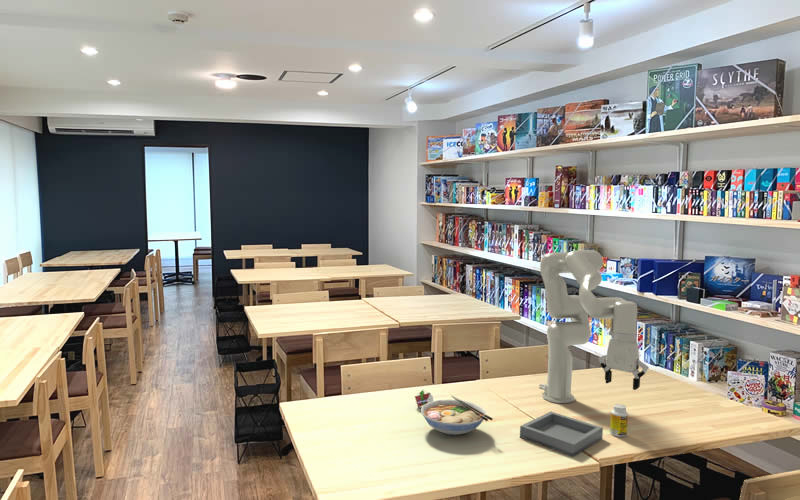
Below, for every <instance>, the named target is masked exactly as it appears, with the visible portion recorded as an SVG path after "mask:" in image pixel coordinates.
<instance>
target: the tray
mask: <svg viewBox="0 0 800 500" xmlns="http://www.w3.org/2000/svg"><path fill="white" fill-rule="evenodd" d="M603 430H604V428H603V427H602V426H598V425H596V424H592V423H589V422H586V421H583V420H580V419H577V418H573V417H569V416H566V415H564V414H561V413H556V412H554V411H549V412H547V413H545V414H543V415H541V416H539V417H536V418H534V419H532V420H530V421H528V422H526V423H524V424H522V425H520V428H519V438H521V439H523V440H525V441H526V440H527V441H529V442H532V443H534V444H537V445H540V446H543V447H545V448H549V449H552V450H554V451H557V452H560V453H562V454H565V455H568V456H570V457H575V456H577V455H579V454H580V453H582V452H583V451H585V450H587V449H588V448H589V447H592V446H593V445H595V444H596V443H598V442H600V441H602V440H603V435H604V434H603V432H604V431H603Z"/></svg>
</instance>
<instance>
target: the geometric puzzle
mask: <svg viewBox="0 0 800 500" xmlns="http://www.w3.org/2000/svg"><path fill="white" fill-rule="evenodd" d="M414 399H415V403H416V405H417V408H419V407H420V408H422V406H423V405H425V404H427V403H428V402H432V401H434V397H433V395H432V393H431V392H426V390H424V389H422V390H421V391H419V392H418V393H417V394H416V395H415V396H414Z"/></svg>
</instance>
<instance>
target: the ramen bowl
mask: <svg viewBox="0 0 800 500" xmlns="http://www.w3.org/2000/svg"><path fill="white" fill-rule="evenodd" d="M451 397H452V398H453V399H451V398H450V399H437V400H433V401H432V402H428V403H427V404H425V405H423V406H422V407H420V408H421V409H420V412H421V414H422V416H423V418H424V419H425V421H426V422H427V424H428V425H429V427H431V428H433V429H434V430H436V431H438V432H440V433H443V434H445V435H449V436H459V435H462V434H463V435H465V434H468V433H471V432H472V431H475V430H476V429H477V428H478V427H479V426H480V425H481V424H482V422H483V421H486V422H488V421H493V417H491V416H489V415H487V411H486V409H484V407H482V406H480V405H478V404H476V403H473V402H470V401H468V400H467V401H466V400H461V399H459V398H457V397H456V396H453V395H451Z"/></svg>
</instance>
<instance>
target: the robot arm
mask: <svg viewBox="0 0 800 500" xmlns="http://www.w3.org/2000/svg"><path fill="white" fill-rule="evenodd" d="M603 259H604V258H603V256H602V255H601V253H600V252H598V251H597V250H594V249H578V250H577V249H576V250H571V251H570V252H569V251H566V252H565V251H563V252H562V251H560V252H559V251H558V252H557V251H556V252H551V253H547V254H544V256H543V257H542V259H541V260H540V266H539V267H540V269H539V270H540V275H541V278H542V282H543V284H544V288H545V298H546V305H547V312H548V315H549V317H550V318H552V319H556V320H558V319H559V320H561V319H571V321H559V322H558V321H557V322H554V323H551V324H549V326H548V327H547V329H546V338H547V339H546V340H547V345H548V349H547V350H548V355H547V356H548V357H547V358H548V359H547V360H548V362H547V381H546V382H547V383H546V384H545V383H543V382H541V383H539V387H538V388H539V389H540V390H543V391H544V392H542V397H543V399H544V400H546V401H549V402H551V403H557V404H570V403H573V402H575V399H576V397H575V395H574V394H572V377H573V355H572V352H571V351H570V349H569V347H570V346H579V345H585V344H587V343H588V342H589V341H590V339H591V328H590V321H589V317H590V318H592V319H594V320H608V319H609V320H610V319H612V320H613V322H612V331H611V330H609V332H608V335H609V336H611V338H610V339H609V342H608V346H607V350H606V354H605V355H602V356H599V357H598V358H597V359H598V362H599V363H600V366H601V368H602V369H603V371H604V380H605V384H609V383H611V382H612V379H613V378H612V377H613V375H612V374H613V371H612V370H617V371H620V372H625V373H631V374H632V375H633V376H634V378H633V379H632V390H634V391H636V390H639V388H640V385H641V378H642V377H643V376H645V375H646V374H647V372H648V370H649V368H650V367H649V366H648V365H646V363H644V362H643V361H641V360H640V350H639V344H638V342H637V325H638V324H637V320H638V305H637V303H635V302H634V301H630V300H626V299H624V298H623V297H617V296H614V297H613V296H611V297H610V296H609V297H605V296H604V297H596V296H595V294H594V293H593V290H595V289H596V288H597V287H599V285H600V284H601V282H602V281H603V276H602V274H601V272H600V270H601V269H602V267H603V265H604V260H603ZM570 273H571V275H572V276H573V277H574V279H575V280H576V282H577V283H578V284H579V290H578V295H577V294H572V295H571V294H570V295H569V293H568V290H567V289H568V288H567V283H566V281H565V280H564V278H563V277H562V276H561V275H560V274H570ZM639 368H641V369H642V370H641V371H640V369H639Z"/></svg>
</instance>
